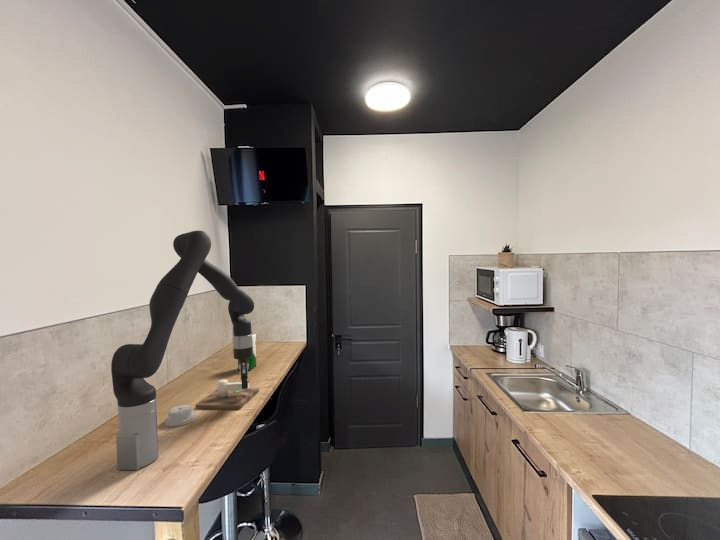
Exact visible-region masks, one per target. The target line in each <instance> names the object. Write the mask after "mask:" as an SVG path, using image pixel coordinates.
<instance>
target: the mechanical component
mask: <svg viewBox="0 0 720 540" xmlns="http://www.w3.org/2000/svg"><path fill="white" fill-rule="evenodd" d="M167 413H168V414H167V415H168V416H167V417H165V419H164V425H165V426H167V427H179V426H183V425H186V424H189V423H192V422H193V421H194V420H196V418H197V415H196V412H195V411H193V407H192V406H191V405H189V404H184V405H178V406H175V407H174V406H173V407H172V408H169V410H168V411H167Z"/></svg>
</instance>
